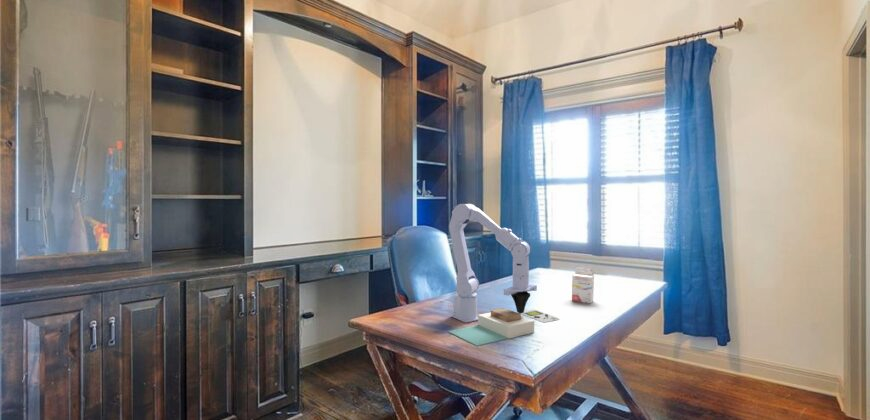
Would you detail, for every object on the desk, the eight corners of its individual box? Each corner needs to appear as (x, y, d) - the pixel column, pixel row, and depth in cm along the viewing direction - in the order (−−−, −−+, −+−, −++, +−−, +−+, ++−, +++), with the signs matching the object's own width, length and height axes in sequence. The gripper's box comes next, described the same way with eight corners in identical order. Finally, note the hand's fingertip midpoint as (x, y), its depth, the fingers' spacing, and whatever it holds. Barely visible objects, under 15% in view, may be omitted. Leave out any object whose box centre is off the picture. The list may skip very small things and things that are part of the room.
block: (490, 315, 148) (490, 310, 148) (503, 313, 151) (503, 308, 151) (507, 322, 140) (507, 316, 140) (520, 319, 144) (520, 313, 144)
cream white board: (478, 325, 149) (478, 314, 149) (503, 320, 156) (503, 309, 156) (508, 338, 136) (508, 326, 136) (534, 332, 142) (534, 320, 142)
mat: (448, 332, 143) (448, 331, 142) (478, 325, 149) (478, 324, 149) (477, 346, 129) (477, 345, 129) (508, 338, 136) (508, 337, 136)
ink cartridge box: (571, 300, 185) (571, 268, 185) (574, 298, 190) (574, 266, 189) (591, 303, 181) (591, 270, 180) (593, 301, 185) (594, 268, 184)
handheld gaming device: (543, 321, 153) (517, 311, 166) (543, 323, 153) (517, 313, 166) (561, 318, 157) (534, 308, 171) (561, 320, 157) (534, 310, 171)
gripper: (513, 279, 142) (513, 318, 142) (543, 275, 150) (542, 312, 150) (499, 275, 148) (499, 313, 148) (528, 272, 156) (528, 307, 156)
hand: (520, 312), depth 150 cm, fingers closed
